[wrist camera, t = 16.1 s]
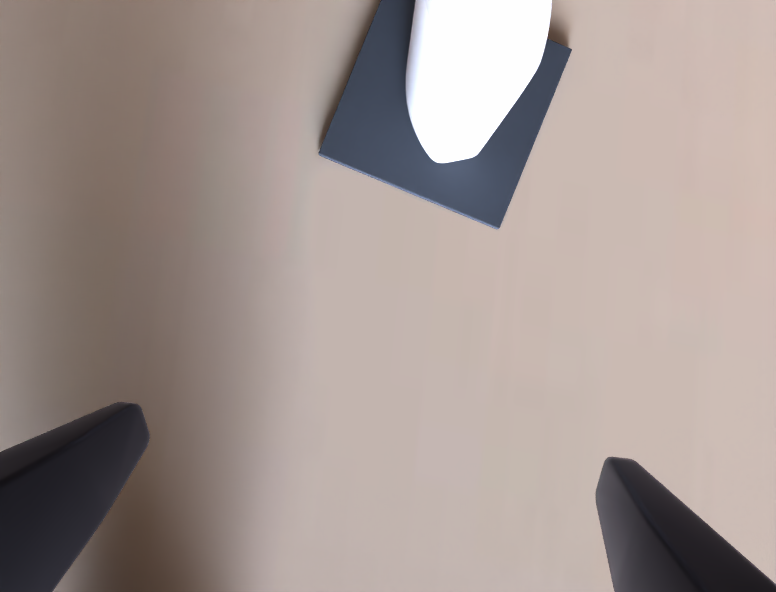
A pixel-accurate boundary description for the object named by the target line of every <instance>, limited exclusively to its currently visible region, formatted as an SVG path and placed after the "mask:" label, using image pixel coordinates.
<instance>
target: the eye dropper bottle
mask: <svg viewBox="0 0 776 592" xmlns="http://www.w3.org/2000/svg"><path fill="white" fill-rule="evenodd" d="M551 8H552V0H416V1H415V8H414V15H413V22H412V30H411V37H410V45H409V52H408V59H407V67H406V100H407V106H408V111H409V116H410V119H411V122H412V125H413V128H414V130H415V133H416V135H417V137H418V139H419V141H420V143H421V145H422V146H423V148H424V150H425V151H426V153H427V154H428V155H429V157H430V158H431V159H432V160H434V161H435V162H438V163H446V162H452V161H458V160H463V159H468V158H472V157H474V156H475V155H477V154H478V153H479V152H480V150H481V149H482V148H483V146H484V145H485V143H486V142H487V141H488V139H489V138H490V137H491V135H492V134H493V132H494V131H495V130H496V128H497V127H498V126H499V124H500V123H501V121H502V120H503V119H504V117H505V116H506V114H507V113H508V112H509V110H510V109H511V107H512V106H513V105H514V103H515V102H516V100H517V99H518V98H519V96H520V95H521V93H522V92H523V90H524V89H525V87H526V86H527V84H528V83H529V81H530V80H531V78H532V77H533V75H534V74H535V72H536V70H537V68H538V66H539V64H540V62H541V58H542V55H543V52H544V48H545V44H546V40H547V36H548V30H549V25H550V18H551Z"/></svg>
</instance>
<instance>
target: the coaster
mask: <svg viewBox="0 0 776 592" xmlns="http://www.w3.org/2000/svg"><path fill="white" fill-rule="evenodd" d="M415 1H416V0H381V1H380V4H379V6H378V9H377V11H376V14H375V16H374V19H373V21H372V23H371V26H370V28H369V31H368V33H367V36H366V38H365V41H364V43H363V45H362V48H361V50H360V53H359V55H358V58H357V60H356V63H355V65H354V67H353V70H352V72H351V75H350V77H349V80H348V82H347V85H346V87H345V90H344V92H343V94H342V97H341V99H340V102H339V104H338V107H337V109H336V112H335V114H334V116H333V119H332V121H331V124H330V126H329V129H328V131H327V134H326V136H325V138H324V141H323V143H322V146H321V148H320V151H319V155H320V156H322V157H324V158H327V159H329V160H331V161H334V162H336V163H339V164H341V165H343V166H346V167H348V168H351V169H353V170H356V171H358V172H360V173H363V174H365V175H368V176H370V177H372V178H375V179H377V180H380V181H382V182H384V183H387V184H389V185H392V186H394V187H396V188H399V189H401V190H404V191H406V192H408V193H411V194H413V195H416V196H418V197H420V198H423V199H425V200H428V201H430V202H432V203H435V204H437V205H440V206H442V207H444V208H447V209H449V210H452V211H454V212H456V213H459V214H461V215H464V216H466V217H468V218H471V219H473V220H476V221H478V222H480V223H483V224H485V225H488V226H490V227H492V228H495V229H499V228H500V226H501V223H502V221H503V218H504V216H505V213H506V211H507V208H508V206H509V203H510V201H511V199H512V196H513V194H514V191H515V189H516V186H517V184H518V181H519V179H520V176H521V174H522V171H523V169H524V167H525V164H526V162H527V159H528V157H529V154H530V152H531V149H532V147H533V144H534V142H535V139H536V137H537V135H538V132H539V130H540V127H541V125H542V122H543V120H544V117H545V115H546V112H547V110H548V107H549V105H550V103H551V100H552V98H553V95H554V93H555V90H556V88H557V85H558V83H559V80H560V78H561V75H562V73H563V71H564V68H565V66H566V63H567V61H568V58H569V56H570V53H571V51H572V49H570V48H568V47H566V46H563V45H561V44H559V43H556V42H554V41H552V40H550V39H547V40H546V44H545V48H544V52H543V55H542V58H541V62H540V64H539V66H538V68H537V70H536V72H535V74H534V75H533V77H532V78H531V80H530V81H529V83H528V84H527V86H526V87H525V89H524V90H523V92H522V93H521V95H520V96H519V98H518V99H517V100H516V102H515V103H514V105H513V106H512V107H511V109H510V110H509V112H508V113H507V114H506V116H505V117H504V119H503V120H502V121H501V123H500V124H499V126H498V127H497V128H496V130H495V131H494V132H493V134H492V135H491V137H490V138H489V139H488V141H487V142H486V143H485V145H484V146H483V148H482V149H481V150H480V152H479V153H478V154H477V155H475V156H474V157H472V158H468V159H463V160H458V161H452V162H446V163H438V162H435V161H434V160H432V159H431V158H430V157H429V155H428V154H427V153H426V151H425V150H424V148H423V146H422V145H421V143H420V141H419V139H418V137H417V135H416V133H415V130H414V128H413V125H412V122H411V119H410V116H409V111H408V106H407V100H406V67H407V59H408V52H409V45H410V37H411V30H412V22H413V15H414V8H415Z"/></svg>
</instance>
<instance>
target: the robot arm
mask: <svg viewBox="0 0 776 592" xmlns="http://www.w3.org/2000/svg"><path fill="white" fill-rule="evenodd" d="M149 439H150V434H149V430H148V427H147V424H146V421H145V417H144V414H143V411H142V408H141V407H140V406H139V405H138V404H135V403H127V402H117V403H114V404H111V405H109V406H107V407H104V408H102V409H100V410H97V411H95V412H93V413H90V414H88V415H86V416H83V417H81V418H79V419H76V420H74V421H72V422H69V423H67V424H65V425H62V426H60V427H58V428H55V429H53V430H51V431H48V432H46V433H44V434H41V435H39V436H37V437H34V438H32V439H30V440H27V441H25V442H23V443H20V444H18V445H16V446H13V447H11V448H9V449H6V450H4V451H2V452H0V592H52V591H53V590H54V589H55V587H56V586H57V584H58V583H59V582H60V580H61V579H62V577H63V576H64V575H65V573H66V572H67V570H68V569H69V568H70V566H71V565H72V563H73V562H74V561H75V559H76V558H77V556H78V555H79V554H80V552H81V551H82V549H83V548H84V547H85V545H86V544H87V542H88V541H89V540H90V538H91V537H92V535H93V534H94V533H95V531H96V530H97V528H98V527H99V525H100V524H101V522H102V521H103V519H104V518H105V516H106V515H107V513H108V511H109V510H110V508H111V507H112V505H113V503H114V502H115V500H116V498H117V497H118V495H119V493H120V492H121V490H122V488H123V486H124V485H125V483H126V481H127V480H128V478H129V476H130V475H131V473H132V471H133V470H134V468H135V466H136V465H137V463H138V461H139V460H140V458H141V456H142V455H143V453H144V451H145V449H146V448H147V446H148V443H149ZM596 505H597V510H598V515H599V520H600V525H601V529H602V534H603V539H604V544H605V549H606V553H607V558H608V563H609V568H610V573H611V577H612V582H613V587H614V591H615V592H776V584H775V583H774V582H773V581H772V580H770V579H769V578H768V577H767V576H766V575H765V574H764V573H762V572H761V571H760V570H759V569H758V568H757V567H756V566H754V565H753V564H752V563H751V562H750V561H749V560H748V559H746V558H745V557H744V556H743V555H742V554H741V553H740V552H738V551H737V550H736V549H735V548H734V547H733V546H732V545H730V544H729V543H728V542H727V541H726V540H725V539H724V538H723V537H721V536H720V535H719V534H718V533H717V532H716V531H715V530H713V529H712V528H711V527H710V526H709V525H708V524H707V523H705V522H704V521H703V520H702V519H701V518H700V517H699V516H697V515H696V514H695V513H694V512H693V511H692V510H691V509H689V508H688V507H687V506H686V505H685V504H684V503H683V502H682V501H680V500H679V499H678V498H677V497H676V496H675V495H674V494H672V493H671V492H670V491H669V490H668V489H667V488H666V487H664V486H663V485H662V484H661V483H660V482H659V481H658V480H656V479H655V478H654V477H653V476H652V475H651V474H650V473H648V472H647V471H646V470H645V469H644V468H643V467H642V466H641V465H639V464H638V463H637V462H636V461H634V460H632V459H627V458H618V457H608V458H607V459H606V460H605V462H604V465H603V468H602V471H601V475H600V478H599V482H598V485H597V489H596Z"/></svg>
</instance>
